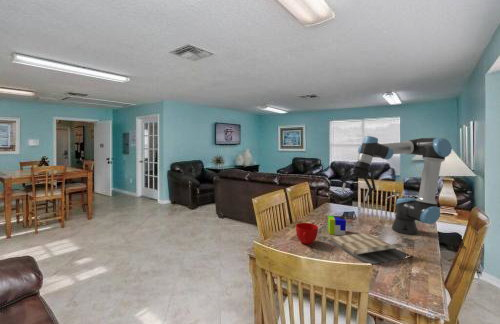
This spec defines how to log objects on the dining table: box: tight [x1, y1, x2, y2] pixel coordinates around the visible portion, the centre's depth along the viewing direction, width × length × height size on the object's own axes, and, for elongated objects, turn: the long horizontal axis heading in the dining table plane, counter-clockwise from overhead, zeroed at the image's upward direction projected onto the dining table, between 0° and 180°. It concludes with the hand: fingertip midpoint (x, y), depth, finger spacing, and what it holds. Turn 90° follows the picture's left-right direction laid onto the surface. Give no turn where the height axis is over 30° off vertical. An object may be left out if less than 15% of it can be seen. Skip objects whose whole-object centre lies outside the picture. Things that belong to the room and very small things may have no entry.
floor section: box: [327, 232, 414, 265], centre depth 146 cm, size 30×33×2 cm
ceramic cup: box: [295, 222, 319, 245], centre depth 152 cm, size 13×17×10 cm
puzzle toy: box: [327, 215, 347, 236], centre depth 172 cm, size 10×10×10 cm
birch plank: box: [355, 242, 408, 254], centre depth 136 cm, size 26×10×2 cm, turn 108°
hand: (353, 197), depth 149 cm, fingers open, 13 cm apart
